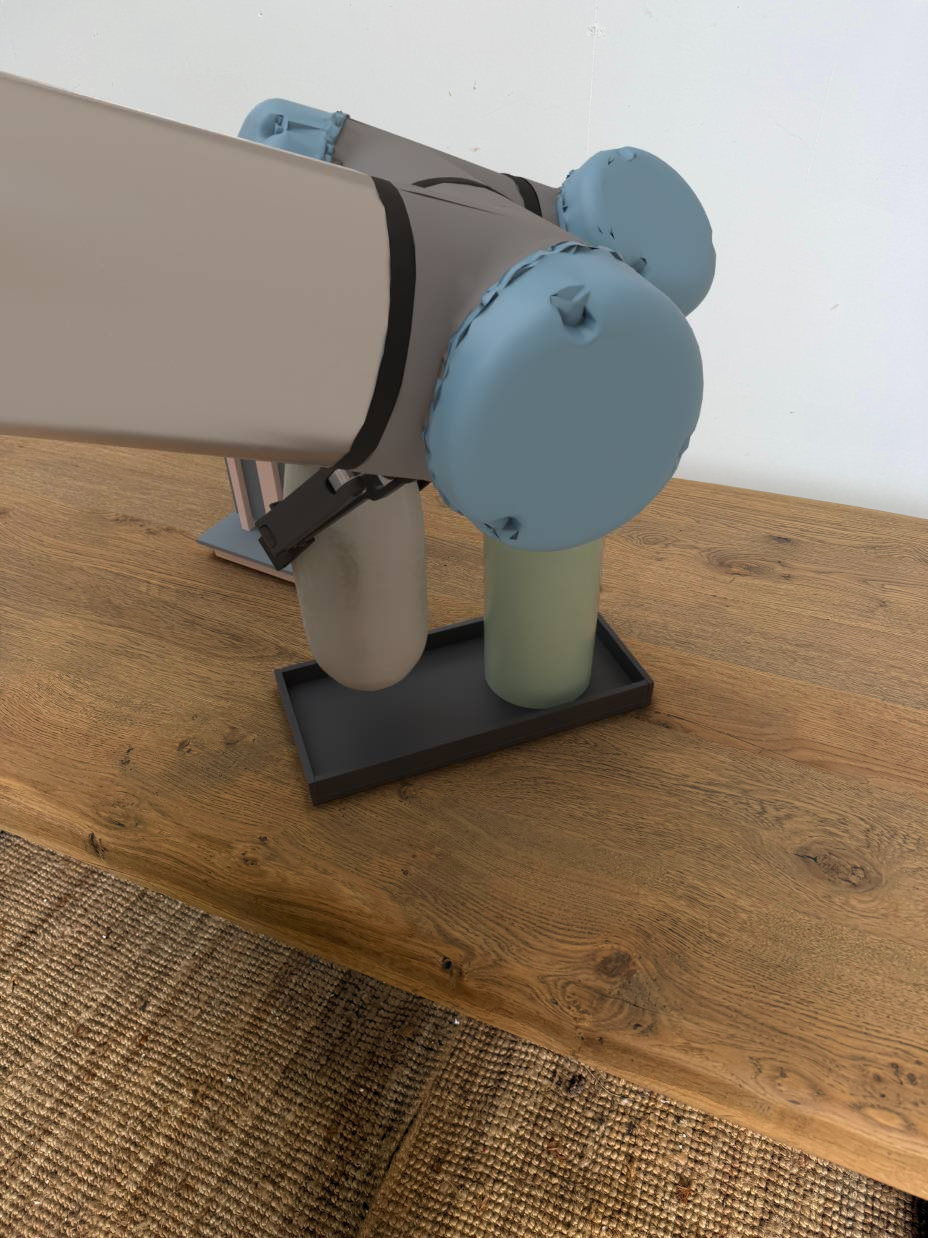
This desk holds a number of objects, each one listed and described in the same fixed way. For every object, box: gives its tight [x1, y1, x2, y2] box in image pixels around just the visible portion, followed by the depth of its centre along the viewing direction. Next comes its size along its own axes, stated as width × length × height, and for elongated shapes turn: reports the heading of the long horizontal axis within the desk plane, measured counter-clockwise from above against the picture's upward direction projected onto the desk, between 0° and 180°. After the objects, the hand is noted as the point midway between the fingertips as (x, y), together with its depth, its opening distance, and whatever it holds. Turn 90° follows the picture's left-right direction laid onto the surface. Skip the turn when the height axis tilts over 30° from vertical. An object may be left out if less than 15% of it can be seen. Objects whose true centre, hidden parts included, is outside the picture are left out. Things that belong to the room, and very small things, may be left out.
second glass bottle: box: [482, 533, 607, 709], centre depth 72 cm, size 10×10×28 cm
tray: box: [273, 611, 655, 806], centre depth 78 cm, size 31×14×3 cm, turn 111°
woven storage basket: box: [195, 457, 295, 584], centre depth 88 cm, size 18×14×33 cm
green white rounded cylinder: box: [283, 463, 429, 691], centre depth 64 cm, size 10×10×28 cm
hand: (332, 522), depth 66 cm, fingers closed on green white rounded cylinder, 11 cm apart
